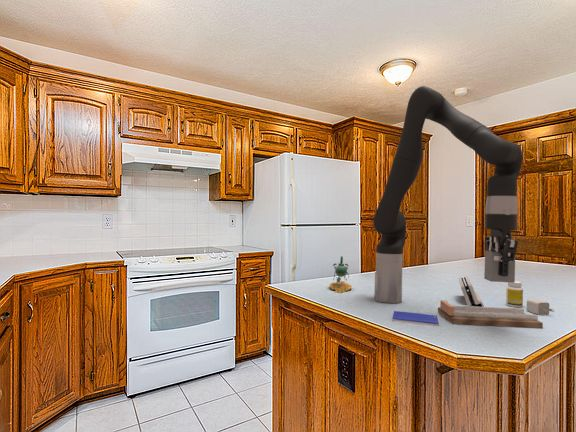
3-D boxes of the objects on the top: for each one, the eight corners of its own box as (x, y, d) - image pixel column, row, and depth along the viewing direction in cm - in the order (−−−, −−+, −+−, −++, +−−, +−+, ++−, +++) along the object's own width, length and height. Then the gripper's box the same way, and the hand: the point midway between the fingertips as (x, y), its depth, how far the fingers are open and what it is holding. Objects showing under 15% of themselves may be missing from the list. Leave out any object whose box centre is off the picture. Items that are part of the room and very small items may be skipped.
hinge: (484, 307, 114) (473, 279, 115) (469, 310, 116) (458, 282, 117) (479, 297, 129) (469, 272, 131) (466, 300, 131) (456, 275, 132)
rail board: (452, 323, 95) (452, 308, 95) (437, 312, 107) (438, 298, 107) (542, 328, 93) (542, 312, 93) (517, 315, 105) (517, 301, 105)
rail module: (490, 281, 92) (491, 249, 91) (484, 278, 96) (485, 247, 96) (514, 282, 91) (515, 250, 91) (506, 279, 95) (507, 248, 95)
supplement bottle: (525, 308, 114) (525, 283, 114) (509, 307, 115) (510, 282, 115) (518, 304, 119) (519, 280, 119) (503, 303, 120) (504, 280, 120)
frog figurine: (354, 285, 148) (355, 252, 147) (350, 299, 131) (351, 262, 129) (332, 283, 151) (333, 251, 149) (326, 297, 134) (326, 260, 132)
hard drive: (437, 314, 101) (394, 310, 105) (438, 322, 93) (392, 317, 98) (437, 320, 101) (394, 315, 105) (438, 328, 93) (392, 322, 98)
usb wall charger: (537, 311, 111) (537, 299, 111) (556, 317, 104) (557, 304, 104) (526, 311, 110) (526, 299, 110) (545, 317, 104) (545, 304, 104)
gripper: (475, 212, 101) (474, 269, 101) (498, 212, 87) (496, 278, 87) (502, 213, 100) (501, 270, 100) (530, 213, 85) (528, 280, 86)
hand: (499, 274), depth 93 cm, fingers closed on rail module, 4 cm apart
